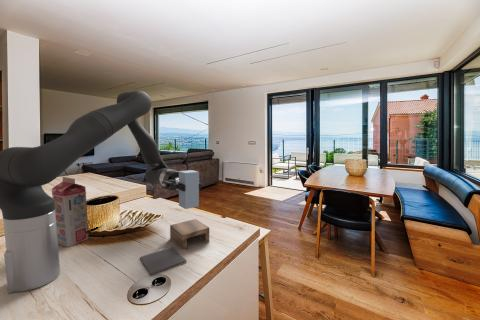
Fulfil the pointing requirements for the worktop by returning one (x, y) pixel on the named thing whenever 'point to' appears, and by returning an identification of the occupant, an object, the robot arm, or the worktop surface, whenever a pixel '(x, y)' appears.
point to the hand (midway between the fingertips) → (192, 187)
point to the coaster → (162, 260)
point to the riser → (188, 232)
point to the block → (189, 189)
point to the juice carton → (70, 212)
